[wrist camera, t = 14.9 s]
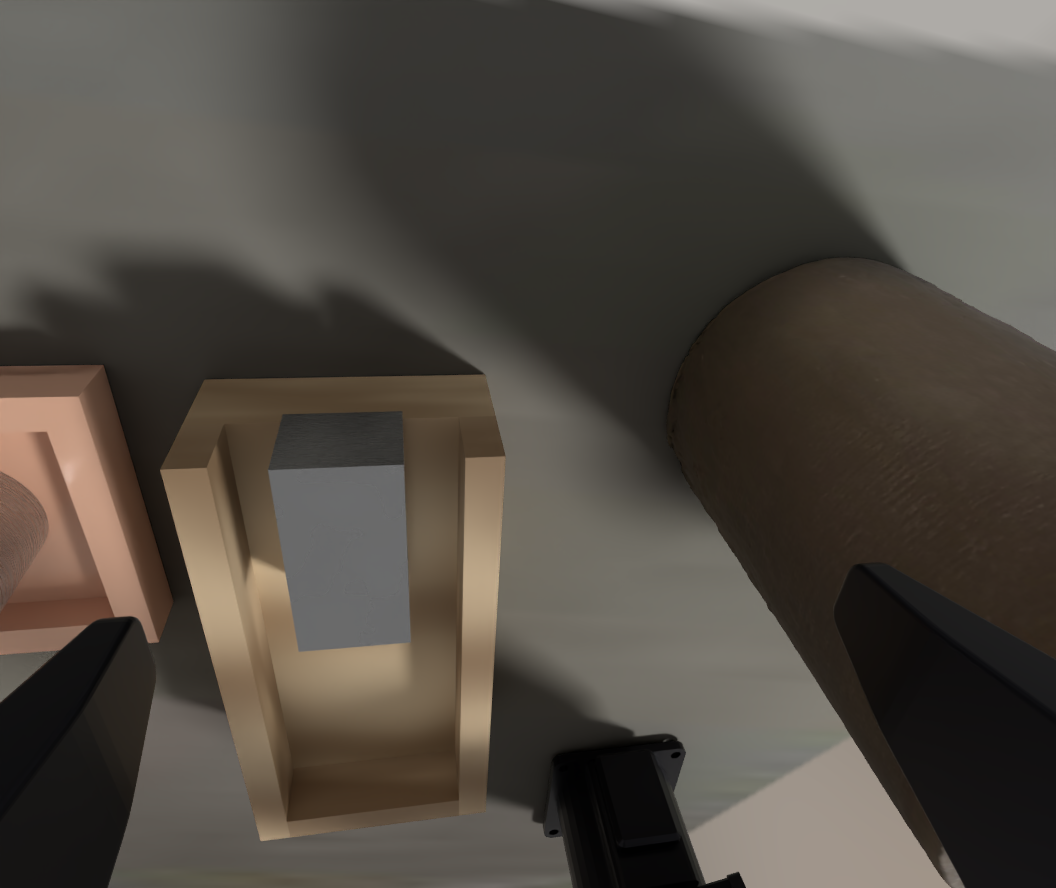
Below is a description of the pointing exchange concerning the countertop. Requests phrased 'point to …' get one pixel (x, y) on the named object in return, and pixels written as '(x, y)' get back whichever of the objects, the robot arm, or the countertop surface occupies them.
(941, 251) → the countertop surface
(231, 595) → the socket block
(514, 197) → the countertop surface
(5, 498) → the grey tall cylinder
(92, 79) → the countertop surface
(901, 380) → the pillar candle
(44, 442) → the rack tray
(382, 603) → the grey rectangular metal block
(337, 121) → the countertop surface
